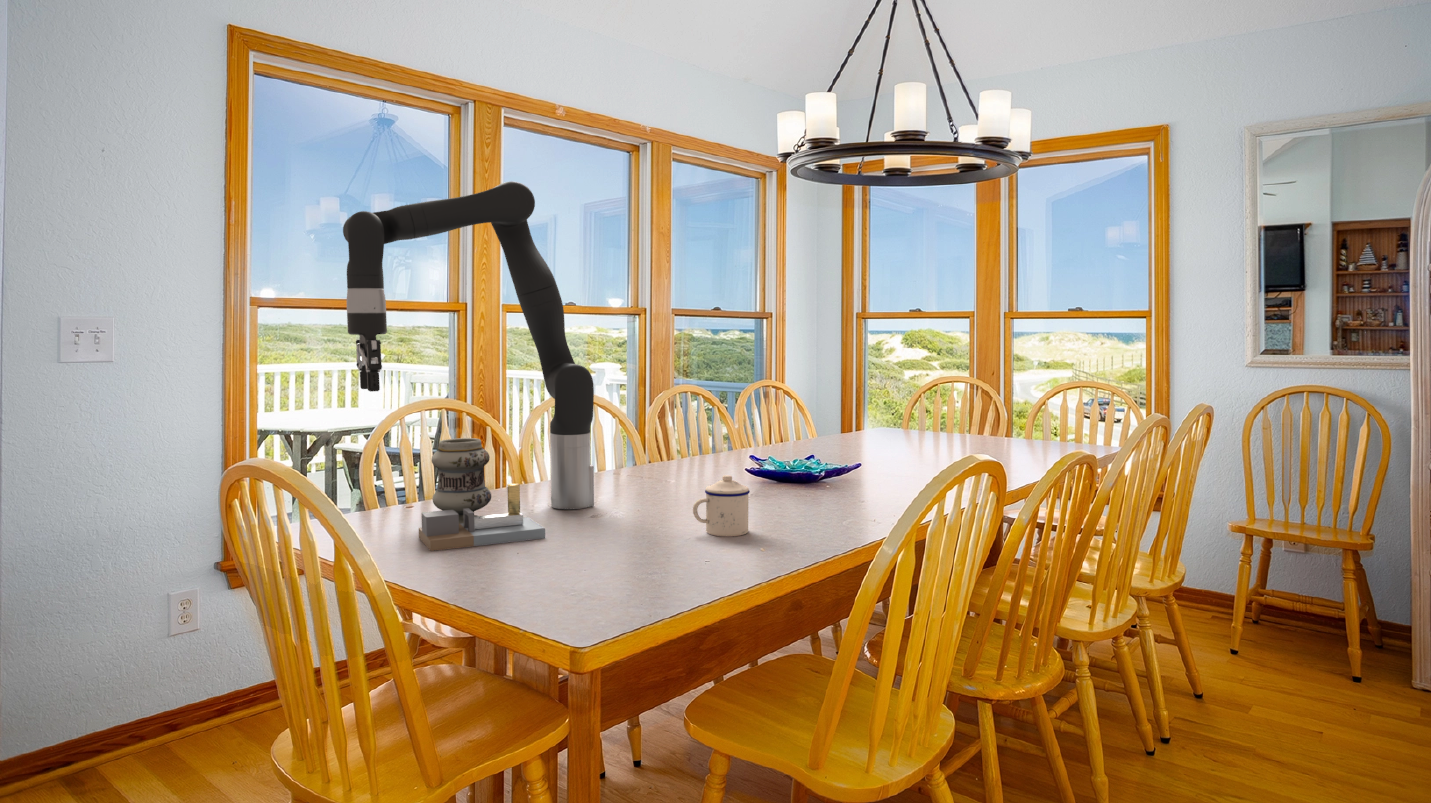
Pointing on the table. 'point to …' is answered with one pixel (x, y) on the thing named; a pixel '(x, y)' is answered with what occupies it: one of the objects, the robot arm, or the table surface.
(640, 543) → the table surface
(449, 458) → the apothecary jar
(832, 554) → the table surface
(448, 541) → the door and jamb lock plate
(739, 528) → the teacup with lid
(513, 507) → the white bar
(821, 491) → the table surface
